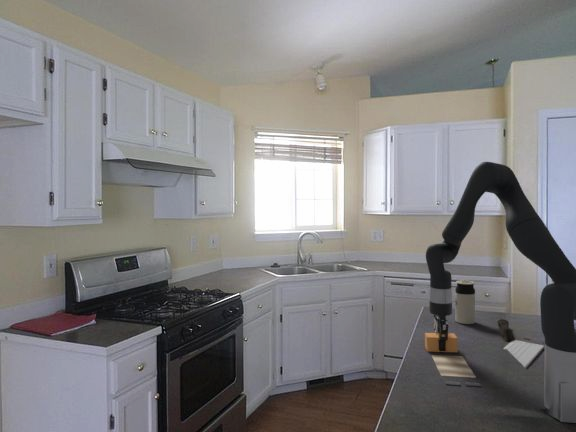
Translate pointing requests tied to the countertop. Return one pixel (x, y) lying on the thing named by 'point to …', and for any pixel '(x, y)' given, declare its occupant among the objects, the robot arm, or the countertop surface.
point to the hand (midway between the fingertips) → (440, 347)
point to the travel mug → (465, 302)
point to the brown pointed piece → (504, 329)
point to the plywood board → (452, 366)
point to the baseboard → (524, 351)
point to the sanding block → (433, 342)
